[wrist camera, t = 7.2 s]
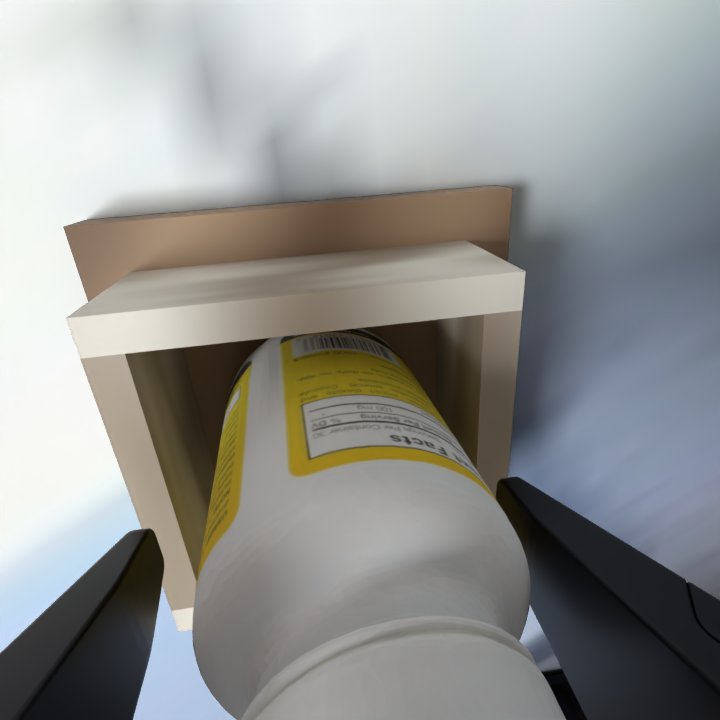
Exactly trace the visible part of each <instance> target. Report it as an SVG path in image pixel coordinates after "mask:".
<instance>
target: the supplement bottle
mask: <svg viewBox="0 0 720 720" xmlns="http://www.w3.org/2000/svg"><path fill="white" fill-rule="evenodd" d="M529 605H530V574H529V568H528V563H527V559H526V555H525V553H524V550H523V547H522V544H521V542H520V540H519V538H518V536H517V534H516V532H515V530H514V528H513V527H512V525H511V523H510V522H509V520H508V518H507V516H506V514H505V512H504V511H503V510H502V508H501V507H500V505H499V503H498V502H497V500H496V499H495V497H494V495H493V494H492V492H491V491H490V489H489V488H488V486H487V485H486V484H485V482H484V481H483V479H482V477H481V476H480V474H479V473H478V471H477V470H476V468H475V467H474V466H473V464H472V463H471V461H470V459H469V458H468V456H467V455H466V453H465V452H464V450H463V449H462V447H461V446H460V444H459V442H458V441H457V439H456V438H455V436H454V435H453V434H452V432H451V430H450V429H449V427H448V426H447V424H446V423H445V421H444V420H443V418H442V417H441V415H440V414H439V412H438V411H437V410H436V408H435V406H434V405H433V403H432V402H431V400H430V399H429V397H428V396H427V394H426V393H425V391H424V390H423V388H422V387H421V385H420V384H419V382H418V381H417V379H416V378H415V376H414V375H413V373H412V372H411V370H410V369H409V367H408V366H407V365H406V363H405V362H404V361H403V360H402V358H401V357H400V356H399V355H398V354H397V353H396V351H395V350H394V349H393V348H392V347H391V346H390V345H389V344H388V343H386V342H385V341H384V340H383V339H381V338H380V337H378V336H377V335H375V334H373V333H371V332H369V331H367V330H365V329H362V328H355V329H346V330H337V331H328V332H319V333H310V334H301V335H291V336H282V337H273V338H270V339H268V340H267V341H265V342H264V343H263V344H261V345H260V346H259V347H258V348H257V349H256V350H254V351H253V352H252V354H251V355H250V356H249V357H248V358H247V359H246V360H245V362H244V363H243V364H242V366H241V367H240V369H239V371H238V373H237V375H236V377H235V379H234V381H233V384H232V386H231V389H230V393H229V396H228V400H227V404H226V410H225V417H224V423H223V429H222V435H221V440H220V446H219V452H218V458H217V465H216V470H215V476H214V482H213V488H212V494H211V500H210V505H209V511H208V518H207V524H206V530H205V535H204V541H203V546H202V551H201V559H200V564H199V570H198V576H197V582H196V591H195V600H194V609H193V624H192V634H193V647H194V652H195V656H196V661H197V664H198V667H199V670H200V673H201V676H202V678H203V680H204V682H205V684H206V685H207V687H208V689H209V690H210V692H211V693H212V695H213V696H214V697H215V699H216V700H217V701H218V702H219V703H220V705H221V706H222V707H223V708H224V709H225V710H226V711H227V712H228V713H229V714H231V715H232V716H233V717H234V718H235V719H237V720H566V718H565V716H564V714H563V712H562V710H561V708H560V706H559V704H558V702H557V700H556V698H555V696H554V694H553V692H552V690H551V688H550V686H549V684H548V682H547V680H546V679H545V677H544V675H543V674H542V673H541V671H540V670H539V669H538V668H537V666H536V663H535V661H534V659H533V657H532V655H531V653H530V652H529V651H528V649H527V648H526V647H525V646H524V645H523V644H522V643H521V642H519V640H520V638H521V635H522V632H523V629H524V627H525V624H526V620H527V616H528V611H529Z"/></svg>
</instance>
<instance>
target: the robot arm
mask: <svg viewBox="0 0 720 720" xmlns="http://www.w3.org/2000/svg"><path fill="white" fill-rule="evenodd" d="M496 500H497V502H498V503H499V505H500V507H501V508H502V510H503V511H504V512H505V514H506V516H507V518H508V520H509V522H510V523H511V525H512V527H513V528H514V530H515V532H516V534H517V536H518V538H519V540H520V542H521V544H522V547H523V550H524V553H525V555H526V559H527V563H528V568H529V574H530V606H531V608H532V610H533V612H534V614H535V616H536V618H537V620H538V622H539V624H540V626H541V628H542V630H543V632H544V634H545V636H546V638H547V640H548V642H549V644H550V646H551V648H552V650H553V652H554V654H555V656H556V658H557V660H558V662H559V664H560V666H561V668H562V670H563V672H564V673H563V674H558V675H552V676H547V677H545V679H546V680H547V682H548V684H549V686H550V688H551V690H552V692H553V694H554V696H555V698H556V700H557V702H558V704H559V706H560V708H561V710H562V712H563V714H564V716H565V718H566V720H720V600H719V599H717V598H715V597H713V596H712V595H710V594H709V593H707V592H705V591H704V590H702V589H700V588H699V587H697V586H696V585H694V584H692V583H691V582H688V583H686V580H685V579H684V578H682V577H681V576H679V575H677V574H676V573H674V572H672V571H671V570H669V569H668V568H666V567H664V566H663V565H661V564H659V563H658V562H656V561H655V560H653V559H651V558H650V557H648V556H646V555H645V554H643V553H642V552H640V551H638V550H637V549H635V548H633V547H632V546H630V545H629V544H627V543H625V542H624V541H622V540H620V539H619V538H617V537H616V536H614V535H612V534H611V533H609V532H607V531H606V530H604V529H602V528H601V527H599V526H598V525H596V524H594V523H593V522H591V521H589V520H588V519H586V518H585V517H583V516H581V515H580V514H578V513H576V512H575V511H573V510H572V509H570V508H568V507H567V506H565V505H563V504H562V503H560V502H559V501H557V500H555V499H554V498H552V497H550V496H549V495H547V494H546V493H544V492H542V491H541V490H539V489H537V488H536V487H534V486H532V485H531V484H529V483H528V482H526V481H524V480H523V479H521V478H519V477H509V478H502V479H500V480H498V482H497V487H496ZM163 575H164V558H163V555H162V552H161V549H160V546H159V543H158V540H157V537H156V534H155V532H154V531H153V530H152V529H150V528H147V529H140V530H133V531H130V532H128V533H127V534H126V535H125V536H124V537H123V538H122V539H120V540H119V541H118V542H117V543H116V544H115V545H114V546H113V547H112V548H111V549H110V550H109V551H108V552H107V553H106V554H105V555H104V556H102V557H101V558H100V559H99V560H98V561H97V562H96V563H95V564H94V565H93V566H92V567H91V568H90V569H89V570H88V571H87V572H86V573H85V574H83V575H82V576H81V577H80V578H79V579H78V580H77V581H76V582H75V583H74V584H73V585H72V586H71V587H70V588H69V589H68V590H67V591H65V592H64V593H63V594H62V595H61V596H60V597H59V598H58V599H57V600H56V601H55V602H54V603H53V604H52V605H51V606H50V607H49V608H47V609H46V610H45V611H44V612H43V613H42V614H41V615H40V616H39V617H38V618H37V619H36V620H35V621H34V622H33V623H32V624H31V625H29V626H28V627H27V628H26V629H25V630H24V631H23V632H22V633H21V634H20V635H19V636H18V637H17V638H16V639H15V640H14V641H13V642H11V643H10V644H9V645H8V646H7V647H6V648H5V649H4V650H3V651H2V652H1V653H0V720H133V717H134V713H135V709H136V706H137V702H138V698H139V695H140V691H141V687H142V684H143V680H144V676H145V672H146V669H147V665H148V661H149V657H150V653H151V648H152V642H153V637H154V631H155V625H156V618H157V612H158V606H159V600H160V594H161V587H162V581H163Z"/></svg>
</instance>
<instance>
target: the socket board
mask: <svg viewBox="0 0 720 720" xmlns="http://www.w3.org/2000/svg"><path fill="white" fill-rule="evenodd" d="M512 189H513V188H507V187H501V186H495V185H492V186H480V187H468V188H457V189H445V190H433V191H421V192H410V193H398V194H386V195H374V196H362V197H351V198H339V199H327V200H315V201H304V202H292V203H280V204H268V205H256V206H245V207H233V208H221V209H209V210H198V211H186V212H174V213H162V214H150V215H139V216H127V217H115V218H103V219H92V220H83V221H80V222H77V223H74V224H71V225H68V226H64V230H65V233H66V236H67V239H68V242H69V245H70V248H71V251H72V254H73V257H74V260H75V263H76V266H77V269H78V272H79V275H80V278H81V281H82V284H83V287H84V290H85V293H86V296H87V299H88V303H86V304H85V305H84V306H82V307H81V308H79V309H78V310H77V311H75V312H74V313H72V314H71V315H70V316H68V317H67V318H66V320H67V323H68V326H69V328H70V331H71V334H72V337H73V340H74V342H75V345H76V348H77V351H78V353H79V356H80V359H81V362H82V364H83V367H84V370H85V373H86V376H87V378H88V381H89V384H90V387H91V389H92V392H93V395H94V398H95V400H96V403H97V406H98V409H99V412H100V414H101V417H102V420H103V423H104V425H105V428H106V431H107V434H108V437H109V439H110V442H111V445H112V448H113V450H114V453H115V456H116V459H117V461H118V464H119V467H120V470H121V473H122V475H123V478H124V481H125V484H126V486H127V489H128V492H129V495H130V497H131V500H132V503H133V506H134V509H135V511H136V514H137V517H138V520H139V522H140V525H141V528H142V529H147V528H150V529H152V530H153V531H154V532H155V534H156V537H157V540H158V543H159V546H160V549H161V552H162V555H163V558H164V575H163V581H162V586H163V589H164V592H165V594H166V597H167V600H168V603H169V605H170V608H171V611H172V614H173V617H174V619H175V622H176V625H177V628H178V630H179V632H180V631H186V630H192V624H193V609H194V600H195V591H196V582H197V576H198V570H199V564H200V559H201V551H202V546H203V541H204V535H205V530H206V524H207V518H208V511H209V505H210V500H211V494H212V488H213V482H214V476H215V470H216V465H217V458H218V452H219V446H220V440H221V435H222V429H223V423H224V417H225V410H226V404H227V400H228V396H229V393H230V389H231V386H232V384H233V381H234V379H235V377H236V375H237V373H238V371H239V369H240V367H241V366H242V364H243V363H244V362H245V360H246V359H247V358H248V357H249V356H250V355H251V354H252V352H253V351H254V350H256V349H257V348H258V347H259V346H260V345H261V344H263V343H264V342H265V341H267V340H268V339H270V338H273V337H282V336H291V335H301V334H310V333H319V332H328V331H337V330H346V329H355V328H362V329H365V330H367V331H369V332H371V333H373V334H375V335H377V336H378V337H380V338H381V339H383V340H384V341H385V342H386V343H388V344H389V345H390V346H391V347H392V348H393V349H394V350H395V351H396V353H397V354H398V355H399V356H400V357H401V358H402V360H403V361H404V362H405V363H406V365H407V366H408V367H409V369H410V370H411V372H412V373H413V375H414V376H415V378H416V379H417V381H418V382H419V384H420V385H421V387H422V388H423V390H424V391H425V393H426V394H427V396H428V397H429V399H430V400H431V402H432V403H433V405H434V406H435V408H436V410H437V411H438V412H439V414H440V415H441V417H442V418H443V420H444V421H445V423H446V424H447V426H448V427H449V429H450V430H451V432H452V434H453V435H454V436H455V438H456V439H457V441H458V442H459V444H460V446H461V447H462V449H463V450H464V452H465V453H466V455H467V456H468V458H469V459H470V461H471V463H472V464H473V466H474V467H475V468H476V470H477V471H478V473H479V474H480V476H481V477H482V479H483V481H484V482H485V484H486V485H487V486H488V488H489V489H490V491H491V492H492V494H493V495H494V497H495V499H496V487H497V482H498V480H500V479H502V478H508V471H509V460H510V448H511V436H512V425H513V413H514V401H515V390H516V378H517V366H518V355H519V343H520V331H521V320H522V308H523V296H524V285H525V273H526V271H524V270H522V269H520V268H518V267H516V266H515V265H513V264H511V263H509V262H508V247H509V233H510V218H511V203H512Z"/></svg>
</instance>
